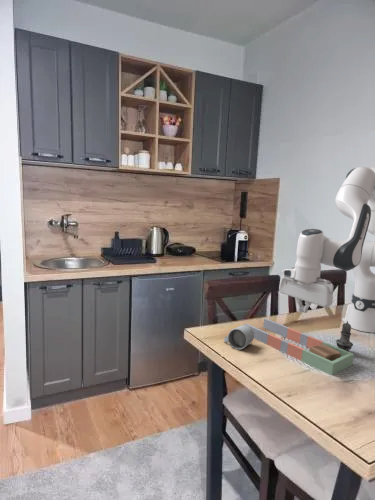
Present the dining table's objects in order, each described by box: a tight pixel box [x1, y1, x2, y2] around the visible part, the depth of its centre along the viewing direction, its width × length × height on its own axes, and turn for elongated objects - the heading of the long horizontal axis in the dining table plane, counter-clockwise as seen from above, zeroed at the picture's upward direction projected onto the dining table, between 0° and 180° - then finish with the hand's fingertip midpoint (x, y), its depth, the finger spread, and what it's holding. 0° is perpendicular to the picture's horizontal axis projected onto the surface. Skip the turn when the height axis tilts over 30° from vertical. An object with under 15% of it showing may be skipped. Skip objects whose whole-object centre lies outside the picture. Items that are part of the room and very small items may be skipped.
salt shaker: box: [335, 321, 354, 352], centre depth 127 cm, size 6×6×12 cm
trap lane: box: [244, 318, 355, 376], centre depth 129 cm, size 13×38×4 cm, turn 38°
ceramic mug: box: [223, 324, 254, 351], centre depth 128 cm, size 11×8×8 cm
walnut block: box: [308, 344, 341, 361], centre depth 118 cm, size 7×7×5 cm
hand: (302, 311), depth 125 cm, fingers closed
